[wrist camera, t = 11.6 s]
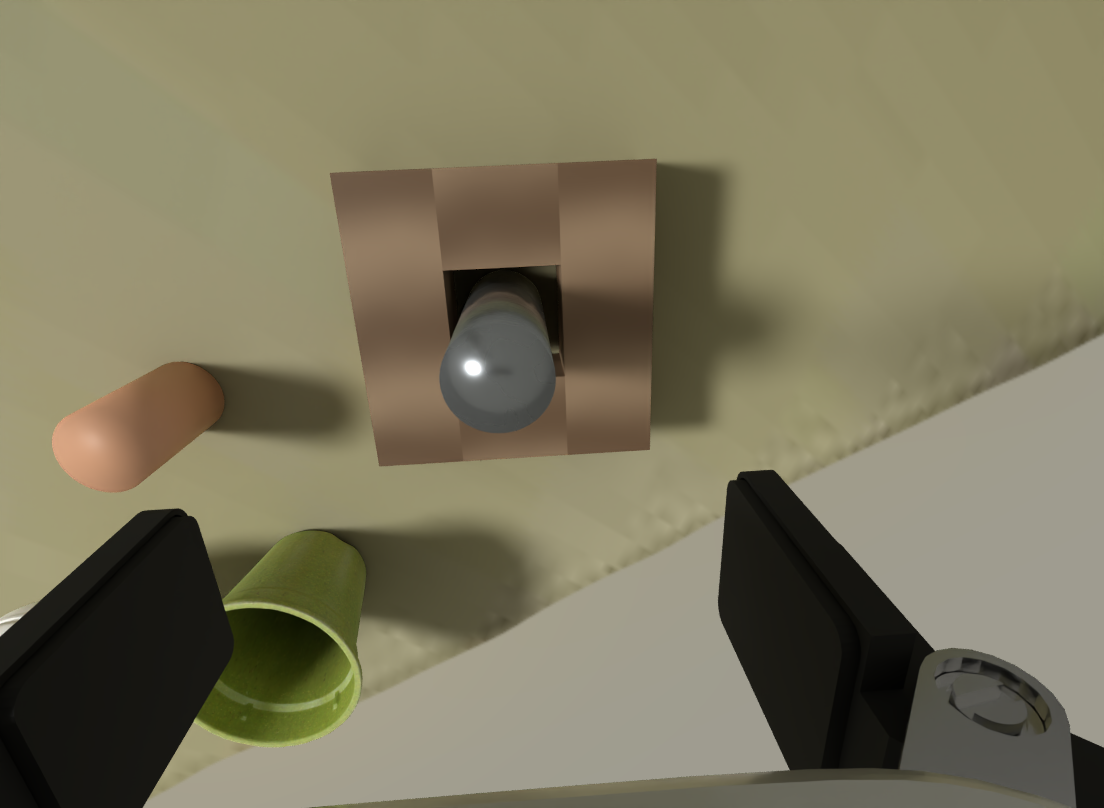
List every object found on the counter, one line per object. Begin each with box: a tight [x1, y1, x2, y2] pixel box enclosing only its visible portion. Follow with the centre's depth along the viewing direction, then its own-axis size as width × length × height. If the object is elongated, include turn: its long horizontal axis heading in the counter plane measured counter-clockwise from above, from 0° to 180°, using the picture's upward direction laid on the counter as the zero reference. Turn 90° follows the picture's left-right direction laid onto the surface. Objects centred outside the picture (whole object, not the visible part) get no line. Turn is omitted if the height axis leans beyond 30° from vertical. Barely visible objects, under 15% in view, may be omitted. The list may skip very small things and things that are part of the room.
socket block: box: [330, 159, 657, 466], centre depth 29 cm, size 14×14×4 cm
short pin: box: [52, 362, 225, 492], centre depth 29 cm, size 4×4×7 cm
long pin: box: [439, 270, 556, 433], centre depth 25 cm, size 4×4×12 cm
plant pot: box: [194, 531, 366, 747], centre depth 32 cm, size 9×9×9 cm
